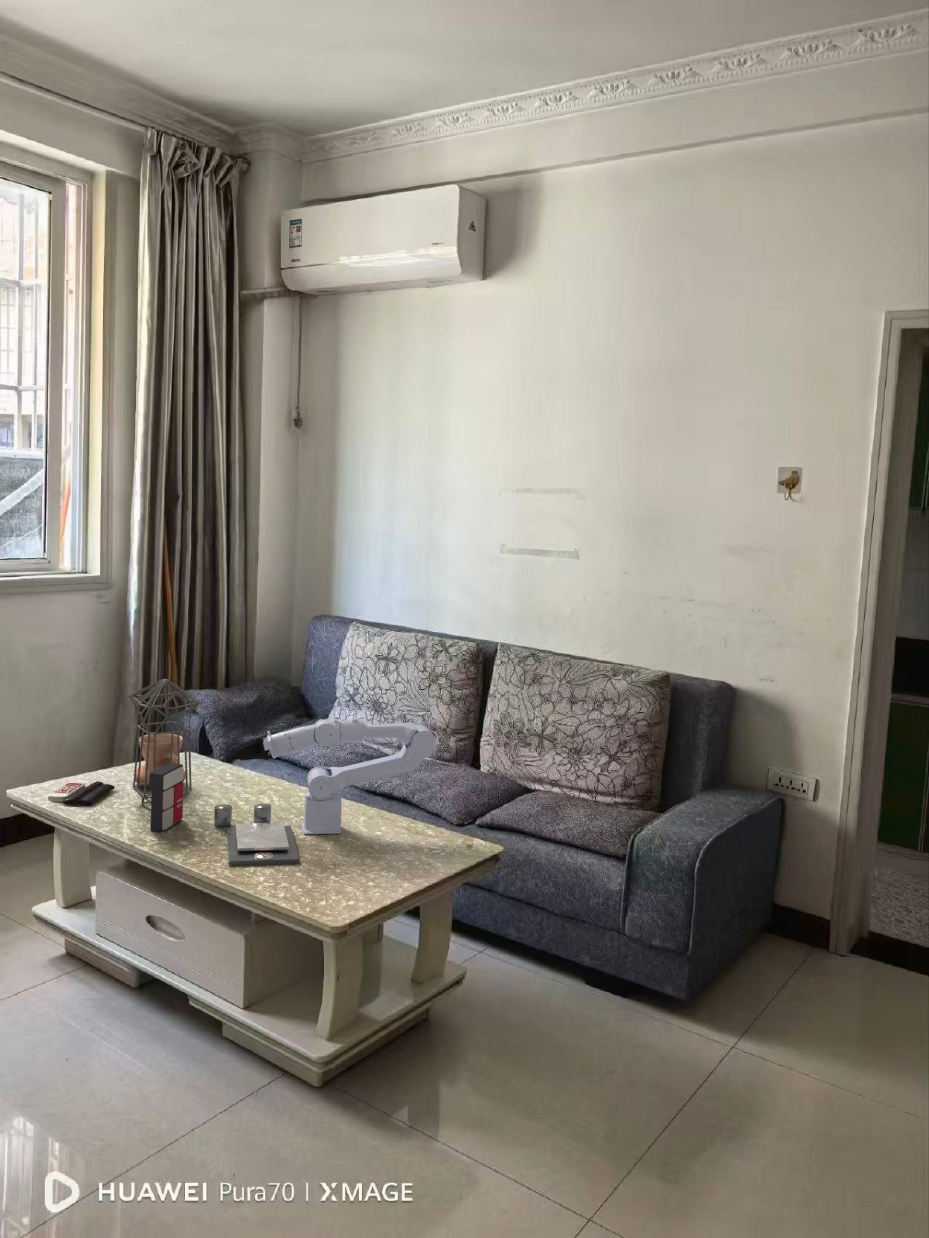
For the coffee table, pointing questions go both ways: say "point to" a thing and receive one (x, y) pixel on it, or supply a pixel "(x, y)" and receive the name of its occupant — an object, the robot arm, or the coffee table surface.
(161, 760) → the ceramic jug
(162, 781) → the grey and red box
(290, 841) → the base
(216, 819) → the cylinder
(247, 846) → the pan
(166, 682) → the geometric lantern
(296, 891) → the coffee table surface
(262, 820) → the cylinder
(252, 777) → the coffee table surface
